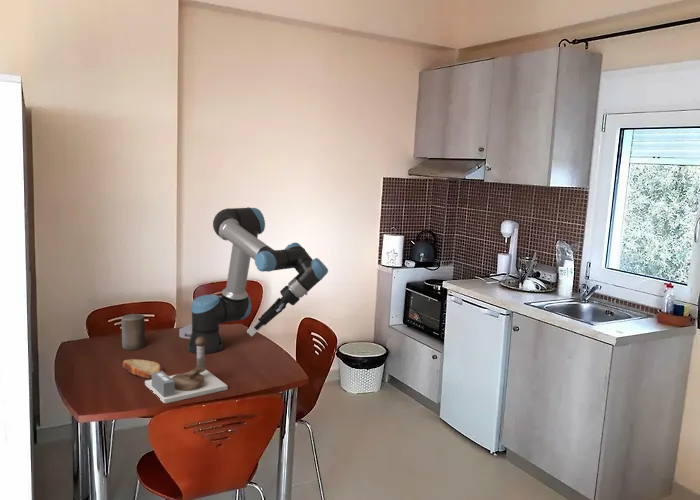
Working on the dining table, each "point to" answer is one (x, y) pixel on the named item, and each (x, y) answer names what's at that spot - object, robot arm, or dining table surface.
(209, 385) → the stand
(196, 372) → the cam handle
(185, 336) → the charger
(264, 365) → the dining table surface
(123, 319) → the pillar candle
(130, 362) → the slice of bread
